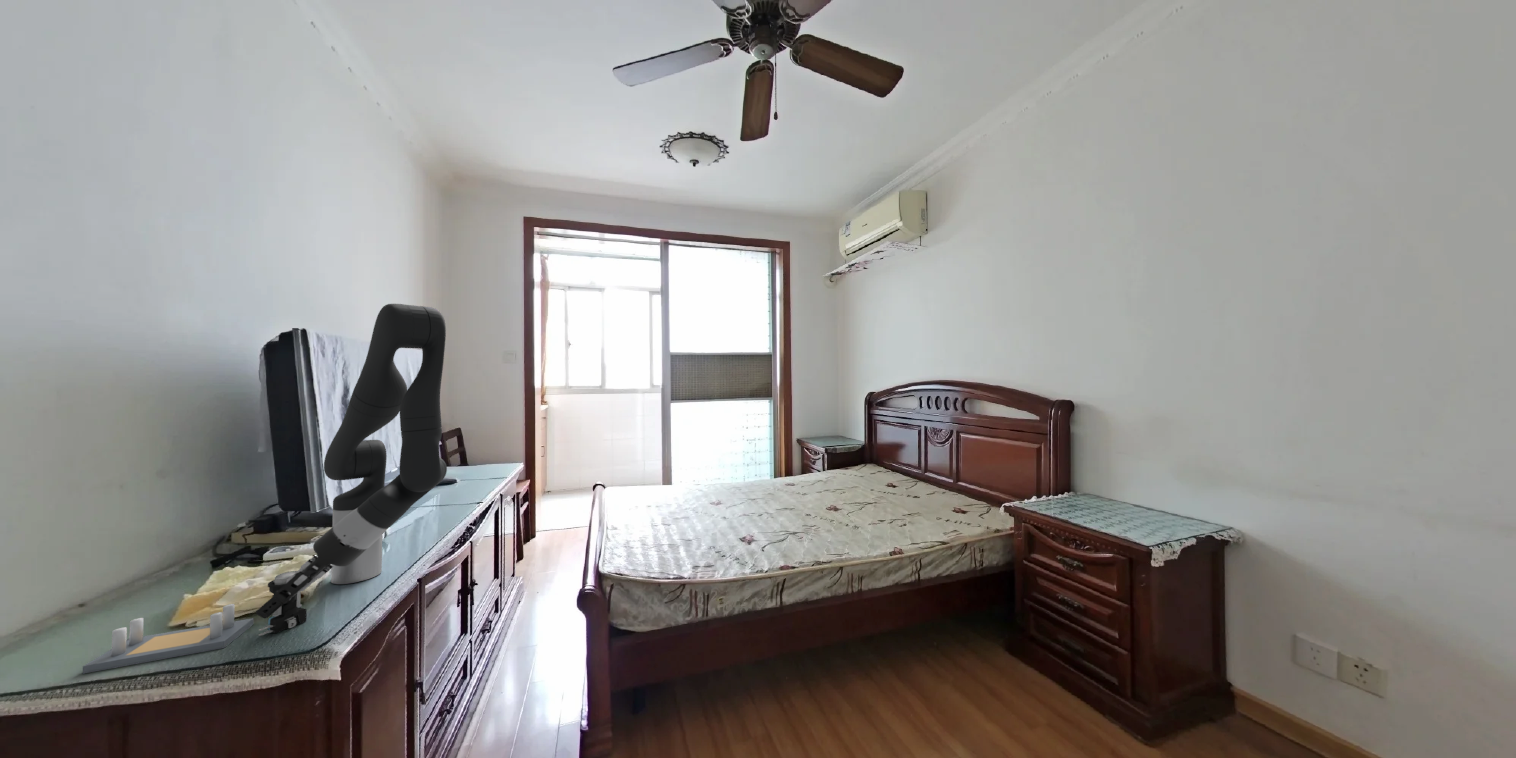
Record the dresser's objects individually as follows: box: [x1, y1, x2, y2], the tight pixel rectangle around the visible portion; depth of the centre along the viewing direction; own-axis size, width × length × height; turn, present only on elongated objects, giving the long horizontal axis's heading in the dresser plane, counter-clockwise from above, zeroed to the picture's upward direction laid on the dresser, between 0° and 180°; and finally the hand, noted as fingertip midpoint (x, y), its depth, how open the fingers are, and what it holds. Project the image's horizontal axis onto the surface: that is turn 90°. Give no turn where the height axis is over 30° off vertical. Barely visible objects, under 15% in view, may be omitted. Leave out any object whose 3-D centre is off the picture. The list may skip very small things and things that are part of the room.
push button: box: [258, 570, 307, 636], centre depth 85 cm, size 7×5×10 cm
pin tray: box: [82, 603, 254, 674], centre depth 79 cm, size 9×16×5 cm, turn 116°
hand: (269, 608), depth 84 cm, fingers closed on push button, 4 cm apart
